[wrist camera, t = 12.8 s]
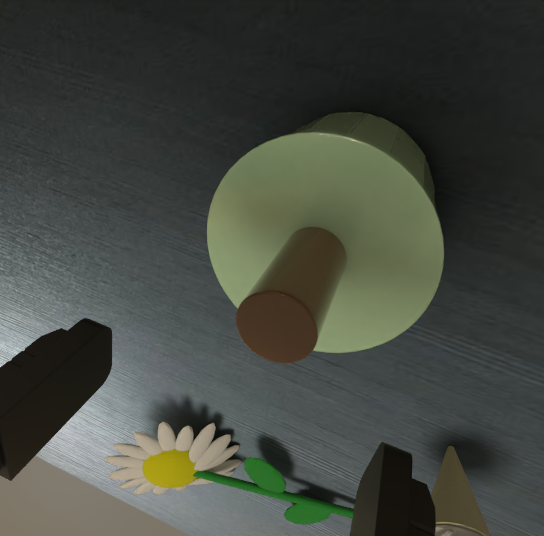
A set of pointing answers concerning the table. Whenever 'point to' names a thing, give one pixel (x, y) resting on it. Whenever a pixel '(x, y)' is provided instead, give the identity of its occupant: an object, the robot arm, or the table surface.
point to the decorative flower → (207, 470)
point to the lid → (323, 245)
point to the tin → (379, 140)
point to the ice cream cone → (456, 501)
